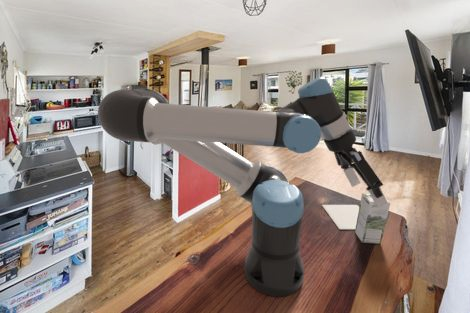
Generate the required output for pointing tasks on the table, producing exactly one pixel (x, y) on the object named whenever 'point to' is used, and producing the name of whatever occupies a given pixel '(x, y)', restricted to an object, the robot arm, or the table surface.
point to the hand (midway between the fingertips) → (367, 193)
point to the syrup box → (371, 220)
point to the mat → (343, 215)
